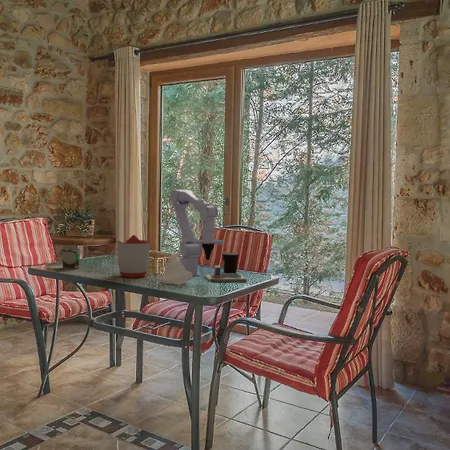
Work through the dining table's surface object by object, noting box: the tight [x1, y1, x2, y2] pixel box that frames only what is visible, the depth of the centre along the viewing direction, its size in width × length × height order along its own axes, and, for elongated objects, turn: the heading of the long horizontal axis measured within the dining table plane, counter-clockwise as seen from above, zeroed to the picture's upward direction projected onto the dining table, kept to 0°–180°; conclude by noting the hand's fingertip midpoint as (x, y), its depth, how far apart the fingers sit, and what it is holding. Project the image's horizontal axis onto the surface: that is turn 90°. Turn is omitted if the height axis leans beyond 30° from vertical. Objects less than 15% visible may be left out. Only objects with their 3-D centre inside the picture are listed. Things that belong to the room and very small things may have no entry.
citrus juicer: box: [116, 234, 151, 279], centre depth 244 cm, size 16×17×20 cm
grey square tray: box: [204, 273, 247, 283], centre depth 243 cm, size 16×17×1 cm
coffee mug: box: [221, 252, 240, 273], centre depth 263 cm, size 12×9×10 cm
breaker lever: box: [212, 265, 222, 275], centre depth 242 cm, size 4×3×5 cm
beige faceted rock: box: [160, 252, 193, 286], centre depth 230 cm, size 12×15×14 cm
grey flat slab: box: [204, 272, 247, 282], centre depth 243 cm, size 18×12×2 cm, turn 102°
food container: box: [60, 247, 82, 270], centre depth 263 cm, size 12×6×10 cm, turn 58°
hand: (207, 259), depth 241 cm, fingers closed
